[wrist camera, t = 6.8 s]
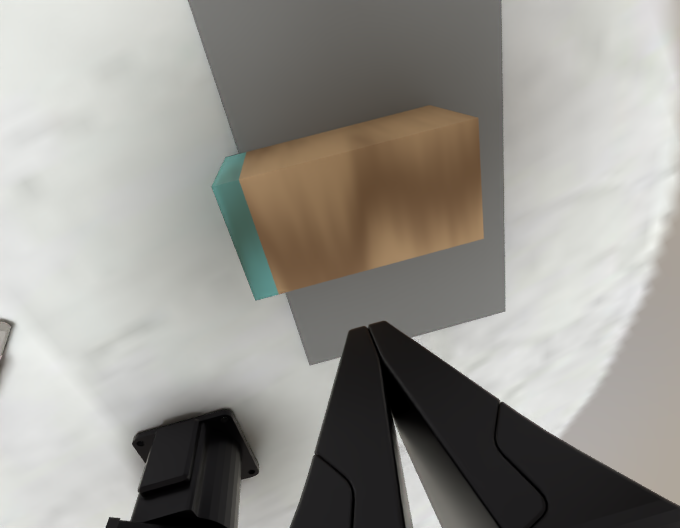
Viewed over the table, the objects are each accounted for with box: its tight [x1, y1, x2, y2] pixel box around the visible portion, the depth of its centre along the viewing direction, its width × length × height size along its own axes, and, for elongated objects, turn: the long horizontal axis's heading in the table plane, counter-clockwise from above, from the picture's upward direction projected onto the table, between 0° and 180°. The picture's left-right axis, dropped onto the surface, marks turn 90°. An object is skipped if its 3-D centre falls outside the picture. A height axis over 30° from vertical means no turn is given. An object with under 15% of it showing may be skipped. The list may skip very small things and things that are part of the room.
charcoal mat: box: [188, 0, 505, 365], centre depth 21 cm, size 20×13×1 cm, turn 12°
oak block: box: [212, 105, 484, 301], centre depth 18 cm, size 5×5×10 cm
